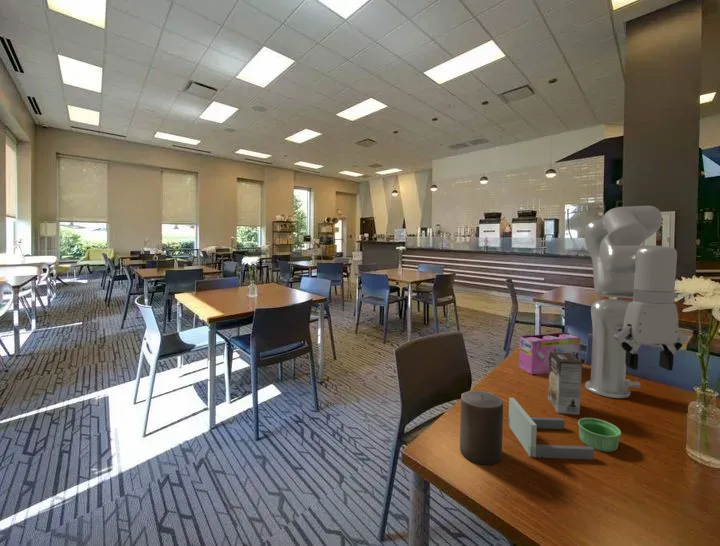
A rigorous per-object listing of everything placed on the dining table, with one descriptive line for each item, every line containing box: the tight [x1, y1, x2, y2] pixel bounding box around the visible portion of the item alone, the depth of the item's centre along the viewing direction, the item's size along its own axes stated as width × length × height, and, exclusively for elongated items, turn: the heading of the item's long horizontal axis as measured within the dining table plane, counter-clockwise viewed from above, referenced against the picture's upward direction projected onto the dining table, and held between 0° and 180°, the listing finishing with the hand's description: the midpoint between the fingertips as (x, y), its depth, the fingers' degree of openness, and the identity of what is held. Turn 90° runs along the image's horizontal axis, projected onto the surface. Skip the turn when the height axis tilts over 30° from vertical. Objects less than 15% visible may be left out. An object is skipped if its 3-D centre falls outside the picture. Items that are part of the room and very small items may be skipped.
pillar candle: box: [459, 390, 504, 466], centre depth 82 cm, size 10×10×15 cm
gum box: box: [518, 332, 581, 375], centre depth 136 cm, size 24×8×14 cm, turn 103°
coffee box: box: [547, 352, 583, 416], centre depth 104 cm, size 9×6×16 cm
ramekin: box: [577, 417, 622, 453], centre depth 86 cm, size 9×9×4 cm
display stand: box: [508, 397, 595, 460], centre depth 87 cm, size 14×14×8 cm
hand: (648, 367), depth 84 cm, fingers open, 7 cm apart
